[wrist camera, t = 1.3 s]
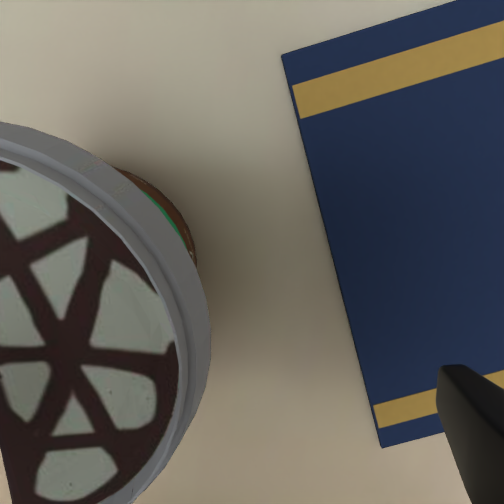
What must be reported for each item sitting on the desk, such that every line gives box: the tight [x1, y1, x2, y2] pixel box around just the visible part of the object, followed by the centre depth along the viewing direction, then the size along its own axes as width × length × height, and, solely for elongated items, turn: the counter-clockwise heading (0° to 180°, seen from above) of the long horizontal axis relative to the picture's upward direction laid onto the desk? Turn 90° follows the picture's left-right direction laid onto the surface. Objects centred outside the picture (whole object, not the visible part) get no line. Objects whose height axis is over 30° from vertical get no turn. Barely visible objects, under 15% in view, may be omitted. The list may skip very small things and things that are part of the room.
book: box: [281, 0, 504, 448], centre depth 20 cm, size 10×20×1 cm, turn 16°
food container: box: [0, 122, 211, 504], centre depth 16 cm, size 12×6×10 cm, turn 2°
